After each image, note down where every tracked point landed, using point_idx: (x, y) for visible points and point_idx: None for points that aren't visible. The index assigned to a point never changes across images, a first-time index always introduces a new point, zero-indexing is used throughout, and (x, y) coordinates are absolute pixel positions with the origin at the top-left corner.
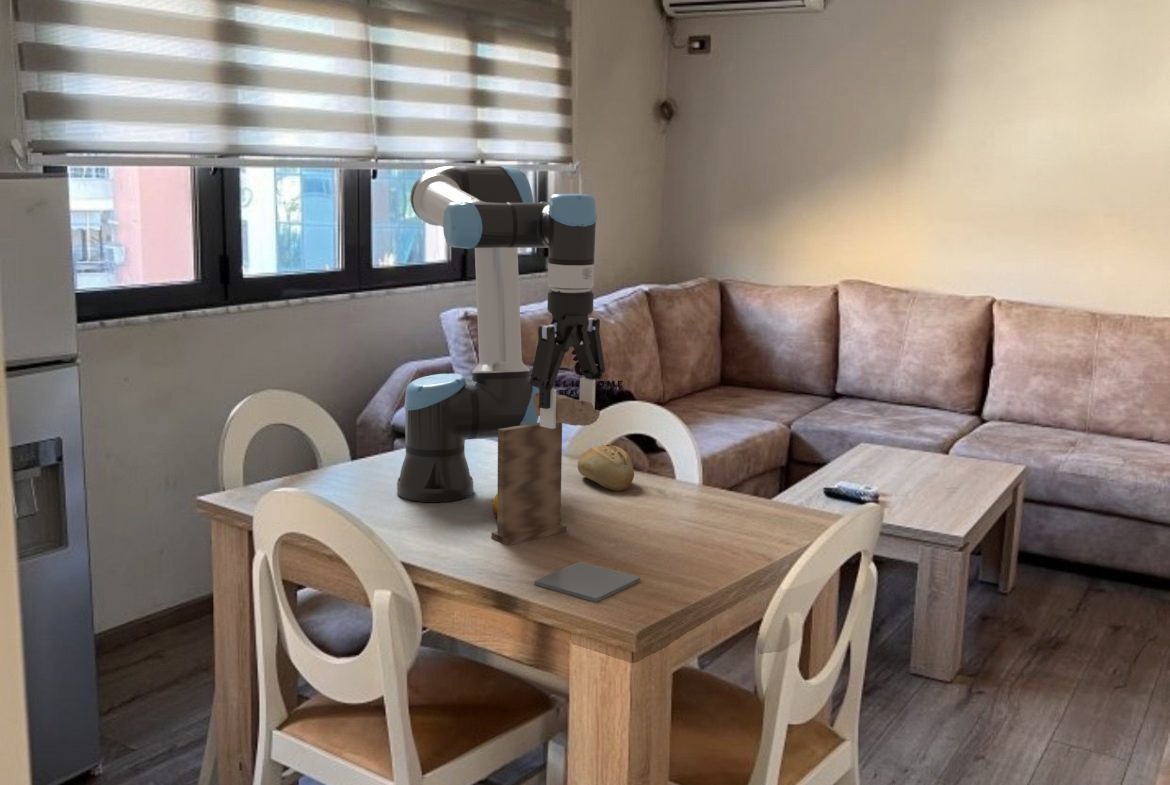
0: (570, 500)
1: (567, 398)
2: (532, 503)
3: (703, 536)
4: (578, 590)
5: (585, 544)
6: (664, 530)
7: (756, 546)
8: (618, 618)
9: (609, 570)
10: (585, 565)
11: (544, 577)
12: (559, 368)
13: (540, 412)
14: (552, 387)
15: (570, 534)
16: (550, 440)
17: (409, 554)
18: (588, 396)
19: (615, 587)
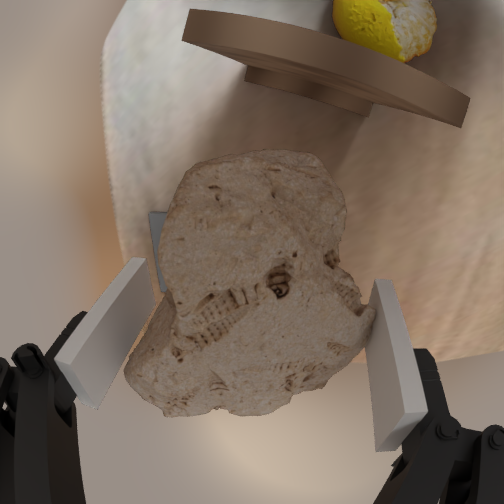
0: (497, 54)
1: (152, 403)
2: (314, 80)
3: (435, 286)
4: None
5: None
6: (441, 238)
7: (420, 339)
8: (151, 318)
9: None
10: None
11: (164, 216)
12: (82, 487)
13: (108, 287)
14: (74, 408)
15: (357, 129)
16: (394, 100)
17: (124, 15)
18: (376, 374)
19: None
